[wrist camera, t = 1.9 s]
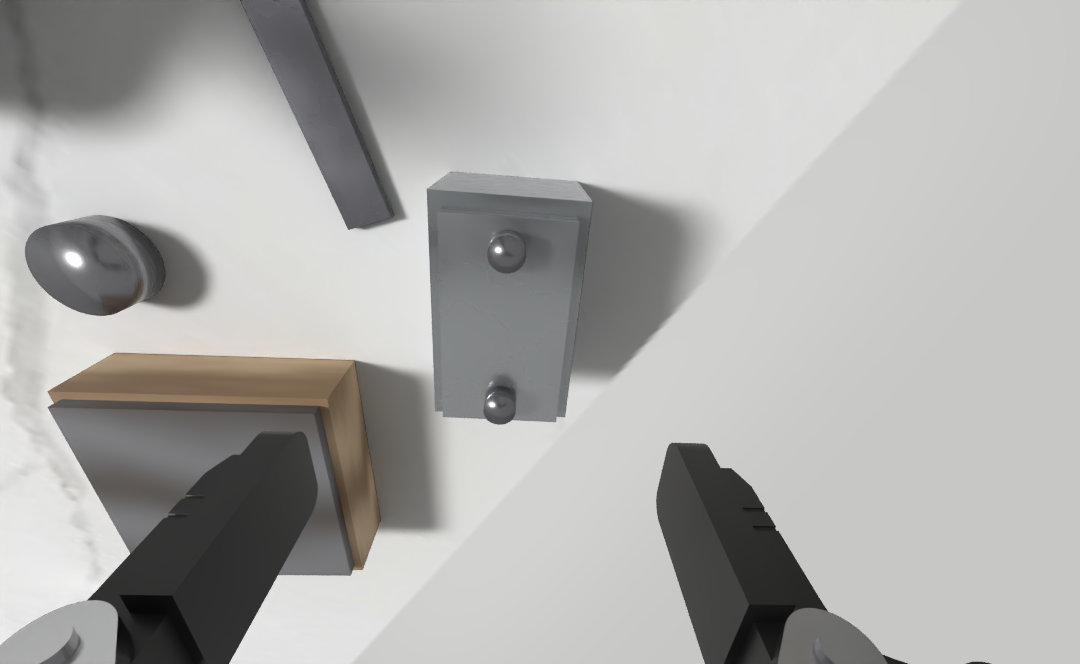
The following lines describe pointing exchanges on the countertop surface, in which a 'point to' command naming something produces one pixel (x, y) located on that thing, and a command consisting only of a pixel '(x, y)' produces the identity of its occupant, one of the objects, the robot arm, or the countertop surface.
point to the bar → (320, 107)
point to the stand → (221, 440)
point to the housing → (505, 293)
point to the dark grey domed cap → (95, 264)
